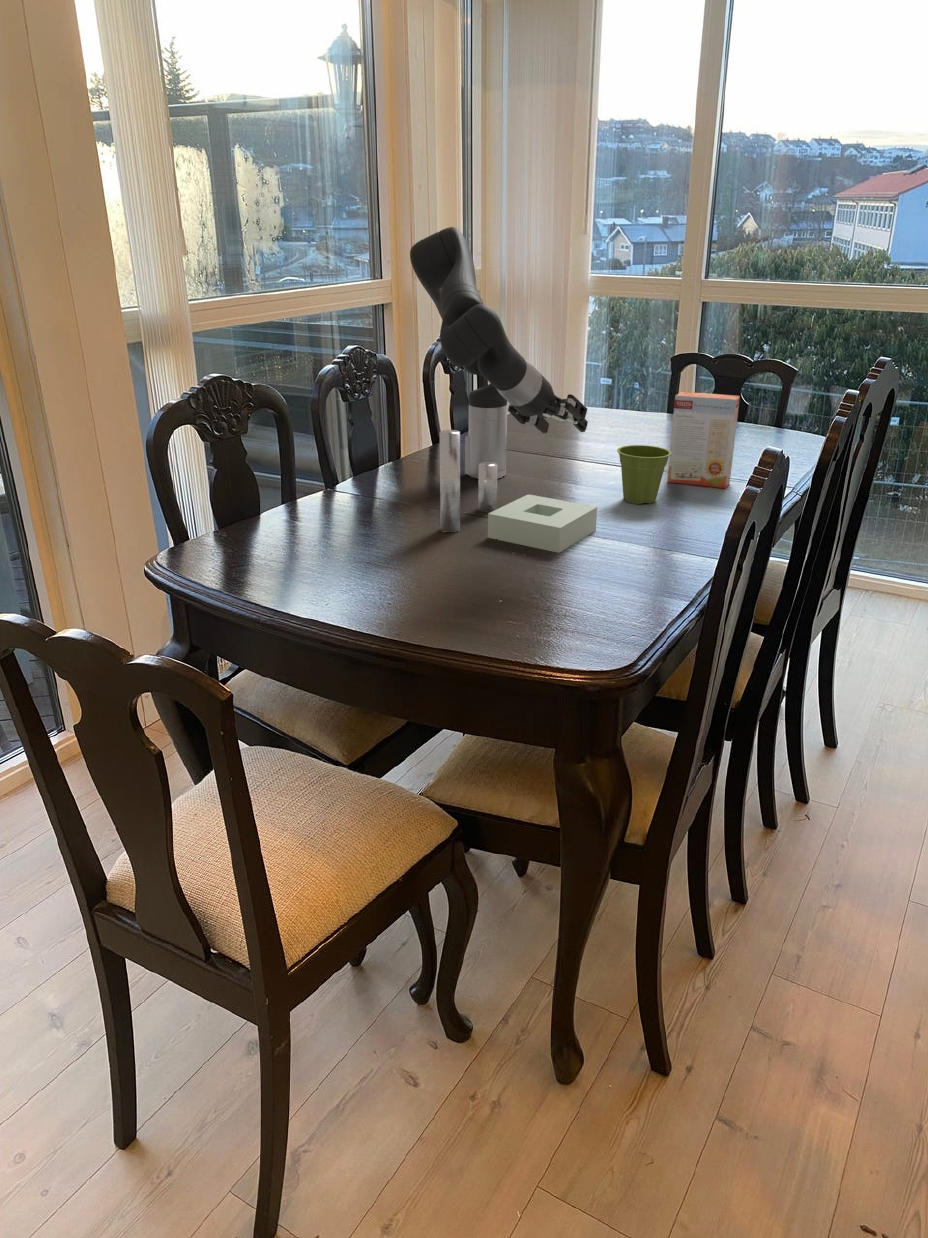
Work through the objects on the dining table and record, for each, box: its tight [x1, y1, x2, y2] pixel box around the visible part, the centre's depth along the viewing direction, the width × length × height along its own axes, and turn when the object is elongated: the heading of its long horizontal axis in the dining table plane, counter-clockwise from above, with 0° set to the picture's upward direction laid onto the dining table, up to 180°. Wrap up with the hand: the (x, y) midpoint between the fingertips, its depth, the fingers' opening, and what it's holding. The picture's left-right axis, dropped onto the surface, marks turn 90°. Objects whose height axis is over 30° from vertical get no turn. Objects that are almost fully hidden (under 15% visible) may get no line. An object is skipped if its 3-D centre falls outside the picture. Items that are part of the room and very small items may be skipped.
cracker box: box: [667, 391, 741, 489], centre depth 213 cm, size 14×6×21 cm, turn 65°
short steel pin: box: [477, 462, 498, 513], centre depth 195 cm, size 4×4×10 cm
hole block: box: [487, 494, 598, 554], centre depth 181 cm, size 16×16×5 cm
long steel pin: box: [439, 429, 461, 533], centre depth 180 cm, size 4×4×20 cm
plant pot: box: [616, 444, 672, 505], centre depth 202 cm, size 12×12×11 cm
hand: (565, 428), depth 174 cm, fingers open, 8 cm apart
